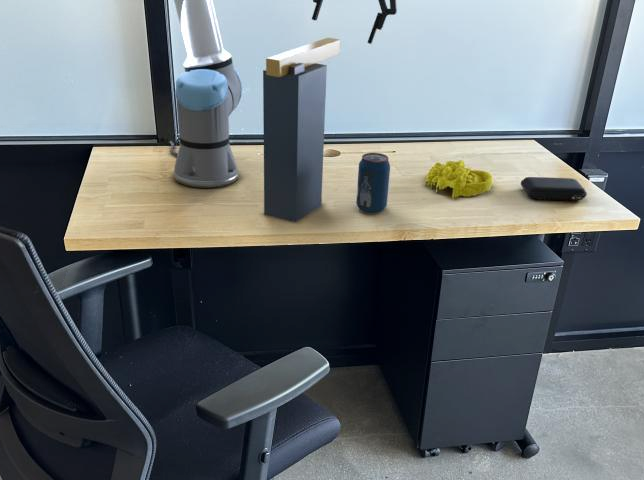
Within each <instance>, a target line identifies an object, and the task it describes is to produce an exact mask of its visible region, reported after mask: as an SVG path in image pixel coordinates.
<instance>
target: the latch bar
mask: <svg viewBox="0 0 644 480" xmlns="http://www.w3.org/2000/svg"><path fill="white" fill-rule="evenodd" d="M340 50H341V39H340V38H335V37H334V38H333V37H325V38H323V39H319V40H316V41H313V42H310V43H308V44H304V45H301V46H298V47H295V48H292V49H289V50H287V51H283V52H281V53H278V54H275V55H272V56H269V57H265V67H266V68H265V69H266V75H270V76H275V77H281V76H284V75H287V74H289V67H290V66H292V65H295V64H298V63H303V64H304V68H305V67H307V66H310V65H313V64H315V63H317V64H319V63H320V62H323V61H327V60H328V59H331V58H333V57H336V56H338V55H340V52H341V51H340Z"/></svg>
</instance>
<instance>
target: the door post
mask: <svg viewBox="0 0 644 480" xmlns="http://www.w3.org/2000/svg"><path fill="white" fill-rule="evenodd" d="M327 69H328V67H327V64H322V63H315V64H313V65H310V66H307V67H305V68H304V64H303V63H298V64H295V65H292V66H290V67H289V74H287V75H284V76H281V77H275V76H270V75H266V68H265V69H263V70H262V100H263V101H262V103H263V104H262V105H263V106H262V107H263V109H262V110H263V111H262V112H263V113H262V114H263V117H262V118H263V119H262V120H263V122H262V123H263V215H264V216H268V217H271V218H276V219H281V220H285V221H289V222H293V223H298V222H299V221H300V220H302V219H303V218H304V217H306V216H307V215H309V214H310V213H311V212H314V211H315V210H316V209H318V208H319V207H320V206H322V200H323V199H322V197H323V196H322V195H323V175H324V173H323V170H324V149H325V148H324V145H325V124H326V123H325V119H326V96H327V95H326V94H327Z"/></svg>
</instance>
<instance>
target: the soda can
mask: <svg viewBox="0 0 644 480" xmlns="http://www.w3.org/2000/svg"><path fill="white" fill-rule="evenodd" d="M390 173H391V163H390V161H389V156H388V155H386V154H384V153H381V152H367V153H363V154H362V156H361V159H360V161H359V162H358V173H357V184H356V185H357V186H356V200H355V203H356V206H357V208H358V211H360V212H361V213H364V214H366V215H379V214H381V213H383V212H384V211H385V209H386V208H387V206H388V198H389V197H388V196H389V186H390V175H391V174H390Z"/></svg>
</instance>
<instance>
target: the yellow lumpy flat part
mask: <svg viewBox="0 0 644 480" xmlns="http://www.w3.org/2000/svg"><path fill="white" fill-rule="evenodd" d="M424 183H425V184H424V185H425V186H426V185H427V187H429V186H431V185H433V186H436V188H435V193H437V192H438V189H439V191H440V190H444V189H448V188H447V187H449V188H451V189H452V195H451V198H452V199H454V198H455V199H456V198H458V197H462V196H463V197H471V196H477V195H482V194H484V193H486V192H489V191H490V190H491V189H492V186H493V175H492V174H491V173H490V172H488V171H485V170H477V169H472V168H471V167H466V165H465V160H462V159H460V160H457V161H453V160H448V161H446V162H445V164H444V163H441V162H439V161H437V162H436V163H435V164H434V166H432V167H431V168H430V169H429V171H428V172H427V175H426V178H425V182H424ZM430 189H431V190H432V187H430Z"/></svg>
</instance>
